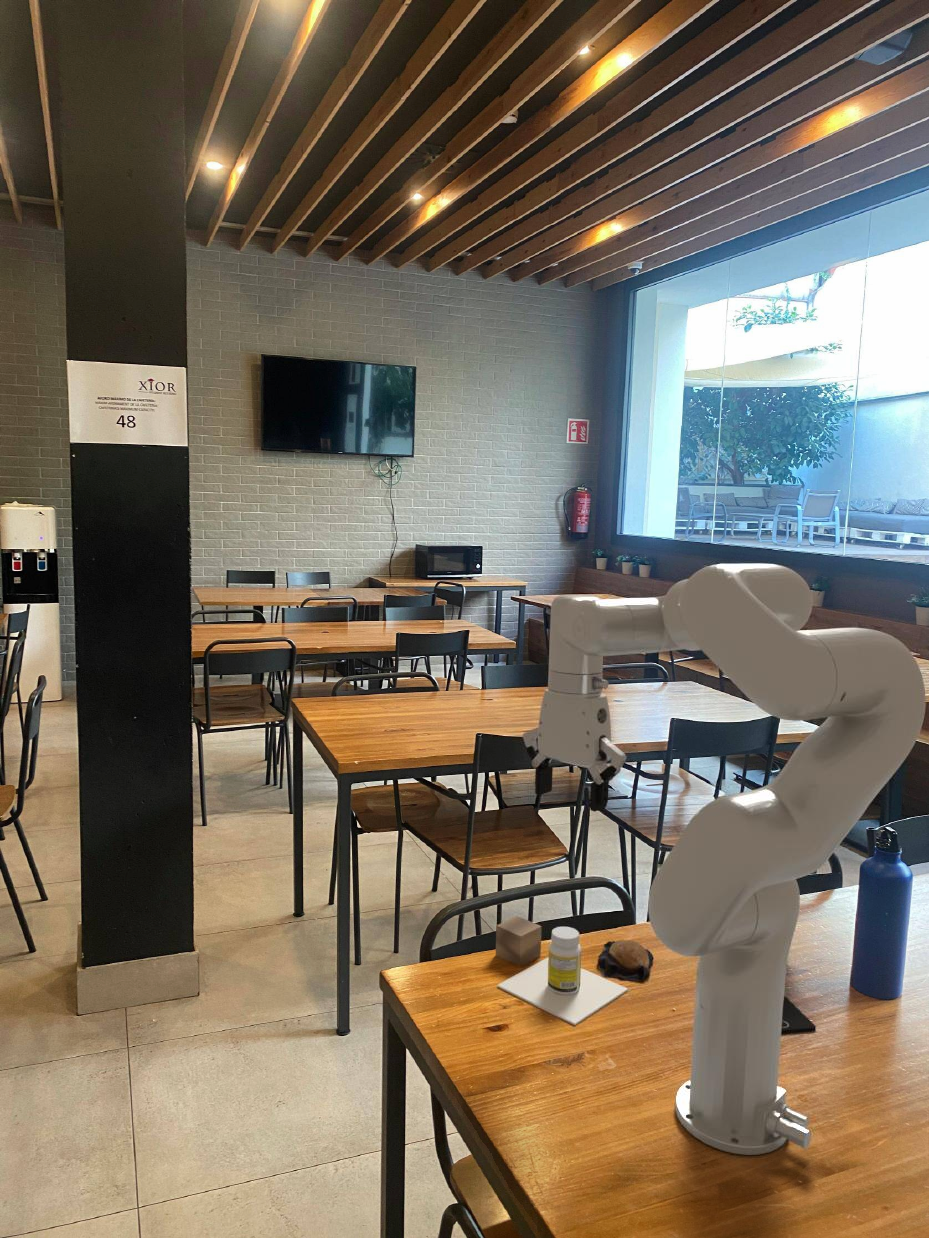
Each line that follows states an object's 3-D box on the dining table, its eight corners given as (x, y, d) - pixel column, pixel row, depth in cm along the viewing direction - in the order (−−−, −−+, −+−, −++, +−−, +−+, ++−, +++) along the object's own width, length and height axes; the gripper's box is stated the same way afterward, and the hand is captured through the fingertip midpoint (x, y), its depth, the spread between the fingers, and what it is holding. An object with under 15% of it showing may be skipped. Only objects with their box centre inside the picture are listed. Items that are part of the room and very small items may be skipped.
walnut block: (540, 956, 140) (541, 926, 139) (519, 967, 136) (520, 936, 136) (516, 945, 143) (517, 915, 143) (495, 955, 140) (496, 925, 139)
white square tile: (627, 990, 130) (627, 988, 130) (574, 1025, 121) (575, 1023, 121) (551, 956, 140) (551, 954, 139) (497, 986, 130) (497, 984, 130)
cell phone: (757, 1038, 119) (757, 1032, 119) (698, 971, 137) (698, 966, 137) (816, 1033, 121) (817, 1027, 121) (751, 968, 138) (751, 962, 138)
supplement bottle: (558, 975, 133) (560, 921, 132) (586, 986, 130) (588, 931, 129) (540, 988, 129) (543, 932, 129) (568, 999, 126) (570, 943, 126)
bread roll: (601, 948, 144) (601, 926, 144) (654, 955, 142) (655, 932, 142) (594, 979, 134) (595, 956, 134) (651, 987, 132) (652, 964, 132)
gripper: (642, 688, 122) (636, 809, 124) (543, 671, 134) (539, 782, 136) (611, 695, 116) (605, 822, 118) (510, 677, 128) (507, 792, 130)
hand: (570, 800), depth 127 cm, fingers open, 9 cm apart
